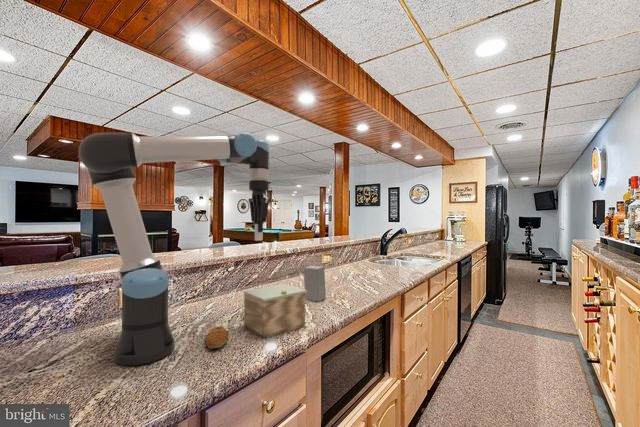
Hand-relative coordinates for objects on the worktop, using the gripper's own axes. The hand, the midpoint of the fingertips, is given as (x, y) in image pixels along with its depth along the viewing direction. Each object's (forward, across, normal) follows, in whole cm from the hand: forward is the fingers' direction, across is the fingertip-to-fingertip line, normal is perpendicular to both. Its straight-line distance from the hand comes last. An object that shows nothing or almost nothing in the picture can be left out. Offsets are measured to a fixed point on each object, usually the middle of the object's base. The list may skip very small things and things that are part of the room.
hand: (258, 240), depth 117 cm
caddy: (+30, -12, 0) cm, 33 cm away
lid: (+18, -5, 0) cm, 19 cm away
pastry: (+31, -14, +25) cm, 42 cm away
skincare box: (+31, +5, -33) cm, 45 cm away
